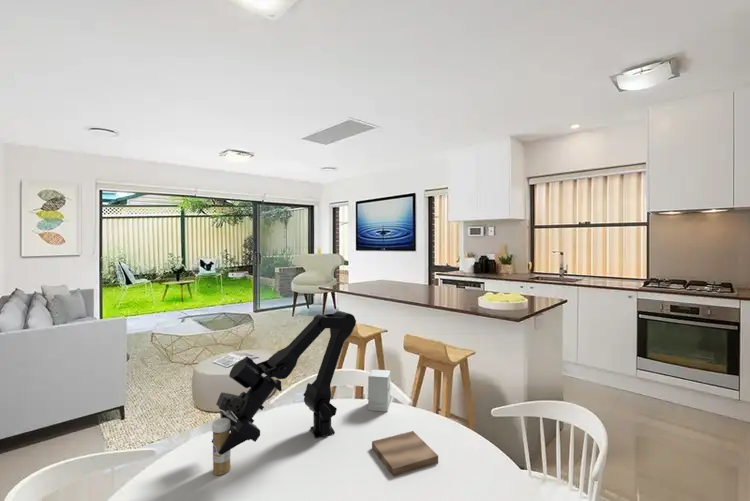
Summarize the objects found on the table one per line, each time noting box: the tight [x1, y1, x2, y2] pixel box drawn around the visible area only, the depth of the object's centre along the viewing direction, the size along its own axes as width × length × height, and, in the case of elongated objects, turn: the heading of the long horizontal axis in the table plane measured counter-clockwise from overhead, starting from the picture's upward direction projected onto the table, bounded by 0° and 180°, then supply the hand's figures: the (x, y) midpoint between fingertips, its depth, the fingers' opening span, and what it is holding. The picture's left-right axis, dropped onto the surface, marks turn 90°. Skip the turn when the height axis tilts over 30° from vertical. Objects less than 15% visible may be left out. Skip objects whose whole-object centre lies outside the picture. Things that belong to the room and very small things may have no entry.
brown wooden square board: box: [371, 430, 439, 477], centre depth 103 cm, size 14×14×2 cm
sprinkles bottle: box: [211, 417, 231, 476], centre depth 97 cm, size 5×5×13 cm
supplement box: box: [367, 369, 391, 413], centre depth 133 cm, size 7×7×13 cm
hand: (216, 448), depth 96 cm, fingers open, 6 cm apart
